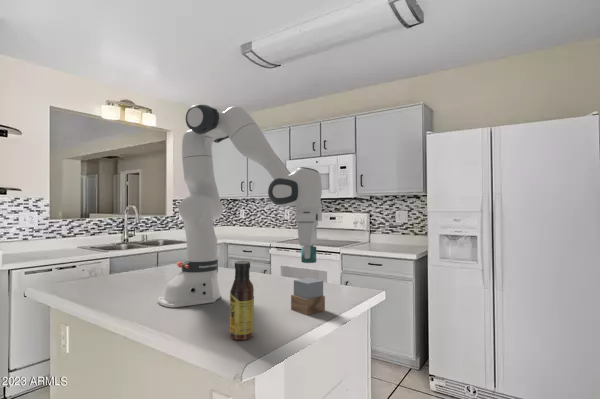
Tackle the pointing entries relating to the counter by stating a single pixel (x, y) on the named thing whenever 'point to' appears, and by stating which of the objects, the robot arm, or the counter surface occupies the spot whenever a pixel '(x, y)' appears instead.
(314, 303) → the walnut base block
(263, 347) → the counter surface
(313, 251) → the teal cylinder
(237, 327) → the sauce bottle
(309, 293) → the slate top block
